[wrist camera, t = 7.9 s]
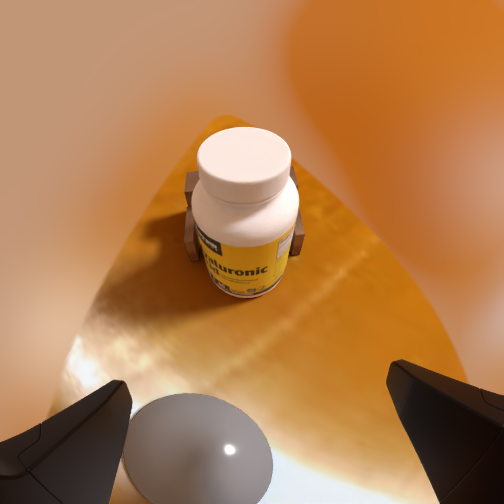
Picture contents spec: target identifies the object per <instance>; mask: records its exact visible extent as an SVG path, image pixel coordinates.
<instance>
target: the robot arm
mask: <svg viewBox="0 0 504 504" xmlns="http://www.w3.org/2000/svg"><path fill="white" fill-rule="evenodd" d="M386 384H387V388H388V390H389V393H390V395H391V398H392V400H393V403H394V406H395V408H396V411H397V414H398V416H399V418H400V421H401V423H402V425H403V427H404V429H405V430H406V432H407V434H408V436H409V438H410V440H411V442H412V444H413V447H414V449H415V451H416V453H417V455H418V457H419V459H420V461H421V463H422V465H423V467H424V470H425V472H426V474H427V476H428V478H429V480H430V483H431V485H432V487H433V489H434V492H435V494H436V496H437V498H438V501H439V502H440V503H439V504H504V395H499V394H496V393H493V392H490V391H487V390H483V389H479V388H477V387H475V386H472V385H469V384H466V383H464V382H461V381H458V380H455V379H453V378H450V377H447V376H444V375H442V374H439V373H436V372H434V371H431V370H428V369H426V368H423V367H421V366H418V365H415V364H413V363H410V362H408V361H405V360H403V359H401V360H397V361H393V362H392V363H391V364H390V368H389V372H388V376H387V380H386ZM131 409H132V398H131V395H130V392H129V390H128V387H127V384H126V383H125V382H124V381H122V380H112V381H111V382H109V383H107V384H106V385H104V386H102V387H101V388H99V389H98V390H96V391H94V392H93V393H91V394H89V395H88V396H86V397H84V398H83V399H81V400H79V401H78V402H76V403H74V404H73V405H71V406H69V407H68V408H66V409H64V410H62V411H61V412H59V413H57V414H56V415H54V416H52V417H50V418H49V419H47V420H45V421H43V422H42V424H41V423H40V424H38V425H36V426H34V427H33V428H31V429H29V430H27V431H25V432H23V433H21V434H19V435H17V436H14V437H12V438H10V439H7V440H5V441H2V442H0V504H109V500H110V496H111V492H112V488H113V484H114V480H115V477H116V473H117V469H118V466H119V462H120V458H121V455H122V452H123V448H124V445H125V441H126V436H127V431H128V425H129V420H130V414H131Z"/></svg>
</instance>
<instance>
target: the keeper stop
mask: <svg viewBox="0 0 504 504" xmlns="http://www.w3.org/2000/svg"><path fill="white" fill-rule="evenodd" d="M289 176H290V178H291V179H292V180H293V182H294V184H295V186H296V188H297V190H298V183H297V179H296V175H295V172H294V168H293V166H290V174H289ZM199 179H200V178H199V171H196V172H187V176H186V184H185V191H184V192H185V196H186V200H187V204H188V207H187V211H186V222H185V233H184V244H185V247H186V249H187V252H188V255H189V257H190V260H191V261H199V252H200V240H199V236H198V233H197V229H196V225H195V222H194V217H193V213H192V205H191V201H192V194H193V190H194V188H195V186H196V184H197V182H198V181H199ZM304 236H305V232H304V228H303V224H302V219H301V215H300V211H299V207H298V214H297V218H296V223H295V227H294V232H293V237H292V241H291V246H290V250H291V255H299V254H300V251H301V247H302V243H303V240H304Z"/></svg>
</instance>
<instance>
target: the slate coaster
mask: <svg viewBox="0 0 504 504" xmlns="http://www.w3.org/2000/svg"><path fill="white" fill-rule="evenodd" d="M123 453H124V461H125V465H126V469H127V471H128V474H129V476H130V478H131V480H132V482H133V483H134V485H135V486H136V488H137V489H138V490H139V492H140V493H141V494H142V495H143V496H144V497H145V498H146V499H147V500H148V501H149V502H151V503H152V504H257V503H258V502H259V501H260V499H261V498H262V497H263V496H264V494H265V492H266V491H267V489H268V487H269V484H270V482H271V477H272V472H273V460H272V454H271V450H270V447H269V444H268V442H267V439H266V437H265V436H264V434H263V432H262V431H261V429H260V428H259V427H258V425H257V424H256V423H255V422H254V421H253V420H252V419H251V418H250V417H249V416H248V415H247V414H245V413H244V412H243V411H242V410H240V409H239V408H237V407H235V406H234V405H232V404H230V403H228V402H226V401H224V400H221V399H218V398H215V397H211V396H207V395H202V394H191V393H183V394H174V395H170V396H166V397H163V398H160V399H157V400H155V401H154V402H152V403H150V404H148V405H147V406H146V407H144V408H143V409H142V410H141V411H140V412H139V413H138V414H137V415H136V416H135V417H134V419H133V420H132V421H131V423H130V425H129V427H128V431H127V436H126V441H125V445H124V448H123Z"/></svg>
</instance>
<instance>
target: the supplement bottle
mask: <svg viewBox="0 0 504 504" xmlns="http://www.w3.org/2000/svg"><path fill="white" fill-rule="evenodd" d="M290 163H291V152H290V149H289V147H288V145H287V143H286V142H285V141H284V140H283V139H282V138H280V137H279V136H277V135H276V134H274V133H272V132H269V131H267V130H263V129H260V128H253V127H237V128H230V129H226V130H223V131H220V132H218V133H215V134H213V135H212V136H210V137H209V138H208V139H206V140H205V141H204V142H203V143H202V145H201V146H200V148H199V150H198V153H197V164H198V170H199V178H200V179H199V181H198V182H197V184H196V186H195V188H194V190H193V194H192V201H191V205H192V213H193V217H194V222H195V225H196V229H197V233H198V236H199V240H200V244H201V247H202V251H203V255H204V258H205V262H206V266H207V269H208V272H209V274H210V276H211V278H212V280H213V282H214V283H215V284H216V285H217V286H218V287H219V288H220V289H221V290H223V291H224V292H226V293H228V294H230V295H232V296H235V297H240V298H252V297H257V296H261V295H263V294H265V293H267V292H269V291H270V290H272V289H273V288H274V287H275V286H276V285H277V284H278V282H279V281H280V279H281V278H282V276H283V273H284V270H285V267H286V263H287V259H288V254H289V250H290V246H291V241H292V237H293V232H294V227H295V223H296V218H297V214H298V207H299V196H298V191H297V188H296V186H295V184H294V182H293V180H292V179H291V178H290V176H289V174H290Z"/></svg>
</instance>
